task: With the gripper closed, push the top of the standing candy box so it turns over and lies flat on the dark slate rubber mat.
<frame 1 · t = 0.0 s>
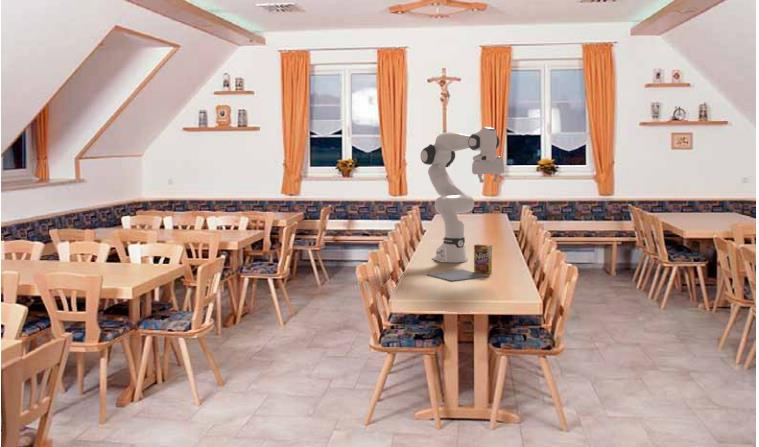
hand: (488, 182, 426), 48 cm above the table, fingers open, 8 cm apart
candy box: (482, 273, 418), on the table
mat: (457, 276, 409), on the table
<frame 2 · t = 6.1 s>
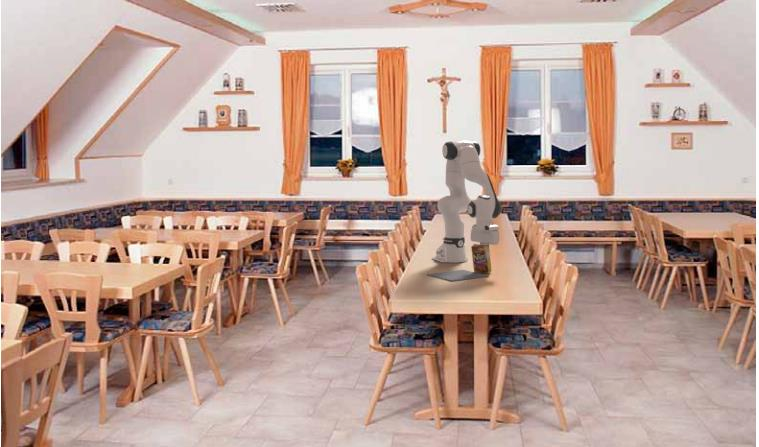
hand: (484, 251, 417), 12 cm above the table, fingers closed
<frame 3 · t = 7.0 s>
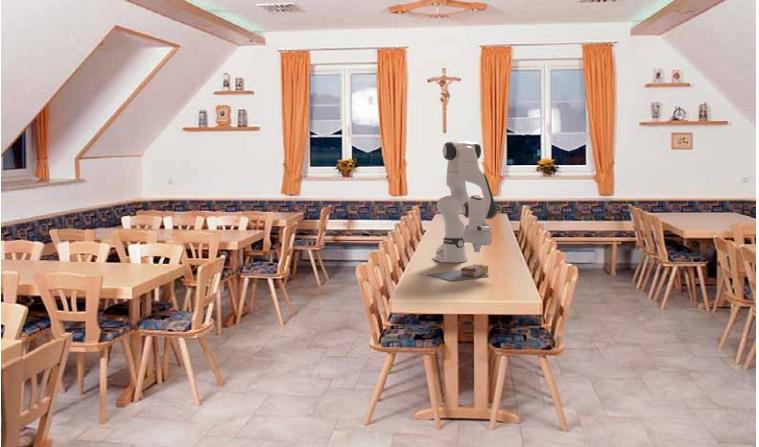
hand: (476, 252, 415), 12 cm above the table, fingers closed
candy box: (481, 268, 417), point 3 cm above the table, touching mat
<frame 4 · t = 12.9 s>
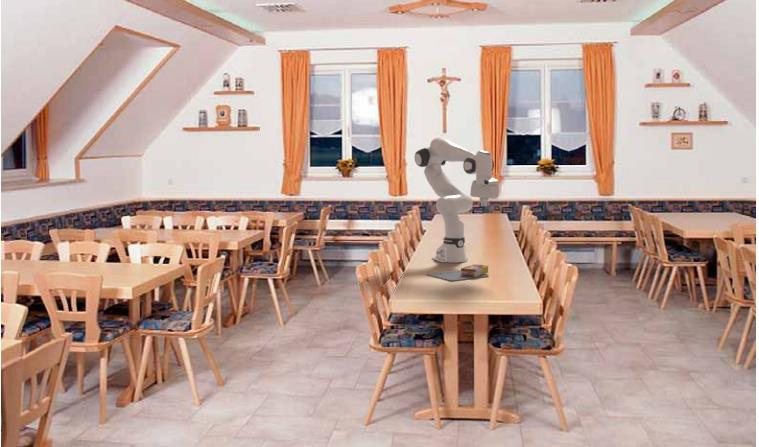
hand: (484, 206, 425), 35 cm above the table, fingers closed
nothing on the table moved.
at the end: candy box tilted 89°; candy box touching mat; candy box inside the target area (1.1 cm from its centre), point 2.5 cm above the table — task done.
